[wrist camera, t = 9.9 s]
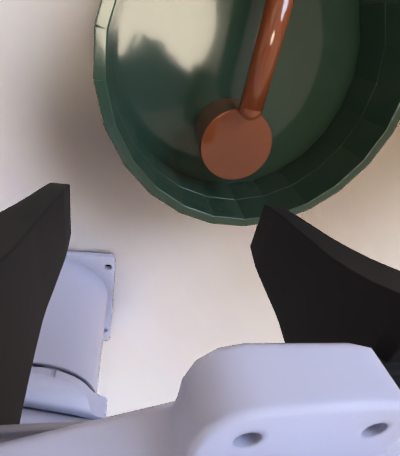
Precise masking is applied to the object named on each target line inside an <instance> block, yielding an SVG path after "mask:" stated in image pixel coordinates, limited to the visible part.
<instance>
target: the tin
mask: <svg viewBox="0 0 400 456" xmlns="http://www.w3.org/2000/svg"><path fill="white" fill-rule="evenodd" d="M264 4H265V0H101V2H100V6H99V9H98V13H97V17H96V20H95V26H94V66H93V79H94V85H95V89H96V94H97V98H98V102H99V106H100V111H101V115H102V119H103V124H104V126H105V129H106V131H107V133H108V135H109V137H110V139H111V141H112V143H113V145H114V147H115V149H116V150H117V152H118V154H119V156H120V158H121V160H122V162H123V164H124V165H125V167H126V168H127V169H128V170H129V171H130V172H131V173H132V174H133V175H134V176H135V178H136V179H137V180H138V181H139V182H140V183H141V184H142V185H143V186H144V187H145V189H146V190H147V191H148V192H149V193H151V194H152V195H153V196H155V197H156V198H158V199H159V200H161V201H162V202H164V203H165V204H167V205H169V206H170V207H172V208H173V209H175V210H176V211H178V212H180V213H182V214H185V215H188V216H191V217H194V218H197V219H200V220H203V221H206V222H209V223H212V224H224V225H236V226H248V225H255V224H258V222H259V219H260V216H261V214H262V211H263V208H264V205H265V204H266V205H276V206H281V207H283V208H285V209H287V210H288V211H290V212H292V213H293V214H295V215H296V214H298V213H301V212H304V211H306V210H309V209H311V208H312V207H314V206H316V205H317V204H319V203H321V202H322V201H324V200H325V199H327V198H329V197H330V196H332V195H334V194H335V193H337V192H339V190H341V189H342V188H343V187H344V186H346V185H347V184H348V183H349V182H350V181H351V180H352V179H353V178H354V177H356V176H357V175H358V174H359V173H360V172H361V171H362V170H363V169H364V168H365V167H367V166H368V164H370V162H371V161H372V160H373V158H374V157H375V156H376V154H377V153H378V152H379V150H380V149H381V148H382V147H383V145H384V144H385V143H386V141H387V140H388V139H389V137H390V136H391V135H392V134H393V132H394V130H395V128H396V126H397V124H398V122H399V120H400V0H295V1H294V5H293V8H292V12H291V15H290V19H289V22H288V26H287V29H286V33H285V36H284V40H283V43H282V47H281V50H280V54H279V57H278V61H277V64H276V67H275V71H274V74H273V78H272V81H271V85H270V88H269V92H268V95H267V99H266V102H265V106H264V109H263V112H262V114H261V116H262V117H263V118H264V119H265V120H266V121H267V123H268V124H269V127H270V129H271V133H272V147H271V151H270V154H269V156H268V158H267V160H266V161H265V163H264V164H263V165H262V166H261V168H259V169H258V170H257V171H256V172H255V173H253V174H251V175H250V176H247V177H245V178H242V179H237V180H228V179H223V178H220V177H218V176H216V175H214V174H213V173H211V172H210V171H209V170H208V168H207V167H206V166H205V164H204V162H203V160H202V158H201V155H200V153H199V150H198V148H197V146H196V143H195V138H194V128H195V124H196V121H197V118H198V116H199V115H200V113H201V112H202V110H203V109H204V108H205V107H206V106H208V105H209V104H210V103H212V102H213V101H215V100H218V99H221V98H226V97H232V98H238V99H241V96H242V92H243V88H244V84H245V80H246V76H247V72H248V68H249V64H250V60H251V56H252V52H253V48H254V44H255V40H256V36H257V32H258V28H259V24H260V20H261V16H262V12H263V8H264Z"/></svg>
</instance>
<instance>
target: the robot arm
mask: <svg viewBox="0 0 400 456" xmlns="http://www.w3.org/2000/svg"><path fill="white" fill-rule="evenodd" d="M70 236H71V219H70V185H69V184H59V183H49V184H47V185H46V186H44V187H42V188H41V189H39V190H38V191H36V192H34V193H33V194H31V195H30V196H28V197H26V198H25V199H23V200H21V201H20V202H18V203H16V204H15V205H13V206H11V207H9V208H7V209H5V210H4V211H2V212H0V456H400V271H399V270H396V269H394V268H391V267H389V266H386V265H384V264H382V263H379V262H377V261H375V260H373V259H370V258H368V257H366V256H364V255H362V254H360V253H358V252H356V251H354V250H352V249H350V248H348V247H347V246H345V245H343V244H341V243H340V242H338V241H336V240H334V239H333V238H331V237H329V236H328V235H326V234H324V233H323V232H321V231H320V230H318V229H317V228H315V227H313V226H312V225H310V224H309V223H307V222H306V221H304V220H303V219H301V218H300V217H298V216H297V215H295V214H293V213H292V212H290V211H288V210H287V209H285V208H283V207H281V206H276V205H266V204H265V205H264V208H263V211H262V214H261V216H260V219H259V222H258V225H257V228H256V231H255V234H254V237H253V240H252V243H251V246H250V247H251V251H252V255H253V259H254V263H255V267H256V269H257V272H258V274H259V277H260V279H261V281H262V284H263V286H264V288H265V291H266V293H267V295H268V297H269V300H270V302H271V304H272V307H273V309H274V311H275V314H276V316H277V319H278V322H279V325H280V328H281V331H282V334H283V338H284V341H285V343H243V344H238V345H232V346H226V347H220V348H217V349H216V350H214V351H212V352H210V353H208V354H207V355H205V356H203V357H201V358H199V359H197V360H196V361H195V362H194V364H193V365H192V366H191V368H190V369H189V371H188V372H187V373H186V375H185V376H184V378H183V379H182V382H181V386H180V390H179V393H178V397H177V399H176V401H173V402H169V403H165V404H161V405H156V406H152V407H148V408H144V409H140V410H135V411H131V412H127V413H123V414H118V415H114V416H110V417H106V408H107V398H106V397H103V396H100V395H98V394H97V387H98V378H99V369H100V360H101V351H102V342H103V341H107V340H109V339H110V332H111V318H112V303H113V289H114V275H115V261H116V259H115V256H114V255H112V254H107V253H90V252H72V251H67V250H68V245H69V240H70ZM107 264H109V265H111V266H106V265H107ZM104 328H106V329H104Z"/></svg>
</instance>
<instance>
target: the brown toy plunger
mask: <svg viewBox="0 0 400 456" xmlns="http://www.w3.org/2000/svg"><path fill="white" fill-rule="evenodd" d="M294 1H295V0H265V4H264V8H263V12H262V16H261V20H260V24H259V28H258V32H257V36H256V40H255V44H254V48H253V52H252V56H251V60H250V64H249V68H248V72H247V76H246V80H245V84H244V88H243V92H242V96H241V99H238V98H232V97H226V98H221V99H218V100H215V101H213V102H212V103H210V104H209V105H208V106H206V107H205V108H204V109H203V110H202V112H201V113H200V115H199V116H198V118H197V121H196V124H195V128H194V138H195V143H196V146H197V148H198V150H199V153H200V155H201V158H202V160H203V162H204V164H205V166H206V167H207V168H208V170H209V171H210V172H211V173H213V174H214V175H216V176H218V177H220V178H223V179H228V180H237V179H242V178H245V177H247V176H250V175H251V174H253V173H255V172H256V171H257V170H258V169H259V168H261V166H262V165H263V164H264V163H265V161H266V160H267V158H268V156H269V154H270V151H271V147H272V133H271V129H270V127H269V124H268V123H267V121H266V120H265V119H264V118H263V117H262V116H261V114H262V112H263V109H264V106H265V102H266V99H267V95H268V92H269V88H270V85H271V81H272V78H273V74H274V71H275V67H276V64H277V61H278V57H279V54H280V50H281V47H282V43H283V40H284V36H285V33H286V29H287V26H288V22H289V19H290V15H291V12H292V8H293V5H294Z"/></svg>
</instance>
